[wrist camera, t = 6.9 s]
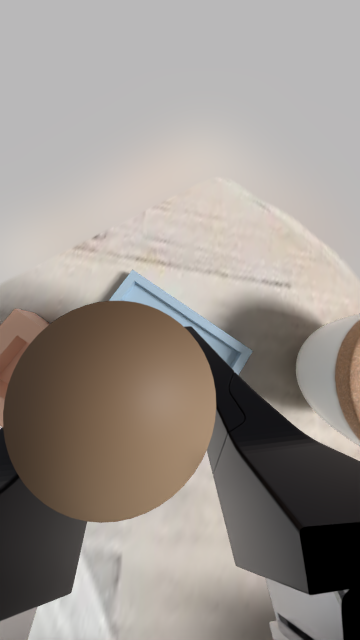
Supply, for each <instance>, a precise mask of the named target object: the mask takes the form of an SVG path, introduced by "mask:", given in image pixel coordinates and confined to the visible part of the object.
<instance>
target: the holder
mask: <svg viewBox="0 0 360 640" xmlns="http://www.w3.org/2000/svg"><path fill="white" fill-rule="evenodd" d="M49 324H50V323H48V322H47V321H45V320H44V319H43V318H41V317H40V316H38V315H37V314H36V313H33V312H29V311H24V310H20V309H14V310H13V311H12V313H11V314H10V315H9V316H8V317H7V318H6V320H5V321H4V322H3V323H2V324H1V325H0V426H2V427H3V410H4V401H5V396H6V392H7V388H8V384H9V381H10V378H11V376H12V373H13V371H14V369H15V367H16V365H17V363H18V361H19V359H20V357H21V356H22V354H23V353H24V351H25V350H26V348H27V347H28V346H29V344H30V343H31V342H32V341H33V340H34V339H35V338H36V336H37V335H38V334H39V333H40V332H41V331H43V330H44V329H45V328H46V327H47V326H48V325H49Z"/></svg>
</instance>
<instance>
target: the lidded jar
mask: <svg viewBox="0 0 360 640" xmlns="http://www.w3.org/2000/svg"><path fill="white" fill-rule="evenodd" d="M296 376H297V381H298V384H299V387H300V390H301V392H302V394H303V396H304V397H305V399H306V401H307V402H308V404H309V405H310V406H311V408H312V409H313V410H314V411H315V412H316V413H317V414H318V415H319V416H320V417H321V418H322V419H323V420H324V421H325V422H326V423H327V424H328V425H330V426H331V427H332V428H333V429H335V430H336V431H338V432H339V433H340V434H342V435H343V436H345V437H346V438H347V439H349V440H350V441H352V442H353V443H355V444H357V445H359V446H360V313H359V314H354V315H351V316H347V317H344V318H341V319H338V320H335V321H333V322H330V323H328V324H326V325H324V326H322V327H320V328H319V329H318V330H316V331H315V332H314V333H312V334H311V335H310V336H309V337H308V338H307V339H306V341H305V342H304V343H303V345H302V347H301V348H300V350H299V353H298V356H297V360H296Z"/></svg>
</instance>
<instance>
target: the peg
mask: <svg viewBox="0 0 360 640" xmlns="http://www.w3.org/2000/svg"><path fill="white" fill-rule="evenodd" d="M215 415H216V391H215V385H214V379H213V375H212V372H211V369H210V365H209V363H208V361H207V359H206V356H205V354H204V352H203V351H202V349H201V347H200V346H199V344H198V342H197V341H196V340H195V339H194V337H193V336H192V335H191V334H190V332H189V331H188V330H187V329H186V328H184V327H183V326H182V325H181V324H180V323H179V322H178V321H176V320H175V319H174V318H172V317H171V316H169V315H168V314H166V313H164V312H162V311H160V310H158V309H156V308H153V307H151V306H148V305H145V304H141V303H137V302H130V301H104V302H97V303H93V304H89V305H85V306H83V307H80V308H77V309H75V310H72V311H70V312H69V313H67V314H65V315H63V316H61V317H59V318H58V319H57V320H55V321H54V322H52V323H51V324H49V325H48V326H47V327H46V328H45V329H44V330H43V331H41V332H40V333H39V334H38V335H37V336H36V338H35V339H34V340H33V341H32V342H31V343H30V344H29V346H28V347H27V348H26V350H25V351H24V353H23V354H22V356H21V357H20V359H19V361H18V363H17V365H16V367H15V369H14V371H13V373H12V376H11V378H10V381H9V384H8V388H7V392H6V396H5V401H4V410H3V430H4V437H5V443H6V447H7V450H8V454H9V457H10V459H11V462H12V464H13V466H14V468H15V470H16V472H17V474H18V475H19V477H20V478H21V480H22V482H23V483H24V484H25V486H26V487H27V488H28V489H29V490H30V491H31V492H32V494H33V495H34V496H36V497H37V498H38V499H39V500H40V501H42V502H43V503H44V504H45V505H47V506H49V507H50V508H52V509H53V510H55V511H57V512H59V513H61V514H64V515H66V516H68V517H71V518H75V519H79V520H83V521H89V522H101V523H102V522H117V521H121V520H126V519H131V518H134V517H136V516H139V515H142V514H145V513H147V512H149V511H151V510H152V509H154V508H156V507H158V506H160V505H161V504H163V503H164V502H165V501H167V500H168V499H170V498H171V497H172V496H173V495H174V494H175V493H177V492H178V491H179V490H180V489H181V488H182V487H183V486H184V485H185V483H186V482H187V481H188V480H189V479H190V477H191V476H192V475H193V474H194V472H195V471H196V469H197V467H198V466H199V464H200V463H201V461H202V459H203V457H204V455H205V452H206V450H207V448H208V445H209V442H210V439H211V436H212V433H213V428H214V423H215Z"/></svg>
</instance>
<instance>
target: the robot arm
mask: <svg viewBox="0 0 360 640" xmlns="http://www.w3.org/2000/svg"><path fill="white" fill-rule="evenodd" d="M184 328H186V329H187V330H188V331H189V332H190V334H191V335H192V336H193V337H194V339H195V340H196V341H197V342H198V344H199V346H200V347H201V349H202V351H203V352H204V354H205V356H206V359H207V361H208V363H209V365H210V369H211V372H212V375H213V379H214V385H215V391H216V415H215V423H214V428H213V433H212V436H211V439H210V442H209V445H208V448H207V453H208V457H209V461H210V465H211V469H212V473H213V474H214V475H213V477H214V481H215V485H216V489H217V493H218V497H219V501H220V505H221V509H222V513H223V517H224V521H225V525H226V529H227V533H228V537H229V541H230V545H231V549H232V553H233V557H234V560H235V564H236V566H237V567H240V568H242V569H245V570H247V571H250V572H253V573H255V574H258V575H260V576H263V577H265V579H266V583H267V587H268V590H269V594H270V598H271V602H272V605H273V609H274V613H275V616H276V621H271V622H269V623H270V629H271V633H272V637H273V640H360V461H358V460H356V459H354V458H352V457H349V456H347V455H345V454H343V453H341V452H339V451H336V450H334V449H332V448H330V447H328V446H326V445H323V444H321V443H319V442H318V441H316V440H314V439H312V438H311V437H309V436H308V435H306V434H305V433H303V432H302V431H300V430H299V429H298V428H297V427H295V426H294V425H293V424H292V423H291V422H289V421H288V420H287V419H286V418H285V417H284V416H283V415H281V414H280V413H279V412H278V411H277V410H276V409H274V408H273V407H272V406H271V405H270V404H269V403H267V402H266V401H265V400H264V399H263V398H262V397H261V396H259V395H258V394H257V393H256V392H255V391H254V390H253V389H252V388H251V387H250V386H249V385H248V384H247V383H246V382H245V381H244V380H243V379H242V378H241V377H240V376H239V375H238V374H237V373H236V372H234V370H233V369H232V368H231V367H230V366H229V365H228V364H227V363H226V362H225V361H224V360H223V359H222V358H221V357H220V356H219V354H218V353H217V352H216V351H215V350H214V349H213V348H212V347H211V346H210V345H209V344H208V343H207V342H206V341H205V340H204V339H203V338H202V337H201V336H200V335H199V334H198V332H197V331H196V330H195V329H194V328H193V327H192V326H185V327H184ZM86 524H87V521H83V520H79V519H75V518H71V517H68V516H66V515H64V514H61V513H59V512H57V511H55V510H53V509H52V508H50V507H49V506H47V505H45V504H44V503H43V502H42V501H40V500H39V499H38V498H37V497H36V496H34V495H33V494H32V492H31V491H30V490H29V489H28V488H27V487H26V486H25V484H24V483H23V482H22V480H21V478H20V477H19V475H18V474H17V472H16V470H15V468H14V466H13V464H12V462H11V459H10V457H9V454H8V450H7V447H6V443H5V437H4V430H3V428H1V429H0V640H28V637H29V633H30V630H31V627H32V623H33V620H34V616H35V613H36V609H37V607H38V606H40V605H43V604H45V603H48V602H50V601H53V600H55V599H58V598H60V597H63V596H65V595H68V594H70V593H71V592H72V588H73V584H74V579H75V575H76V570H77V565H78V561H79V556H80V552H81V547H82V543H83V538H84V533H85V529H86Z"/></svg>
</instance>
